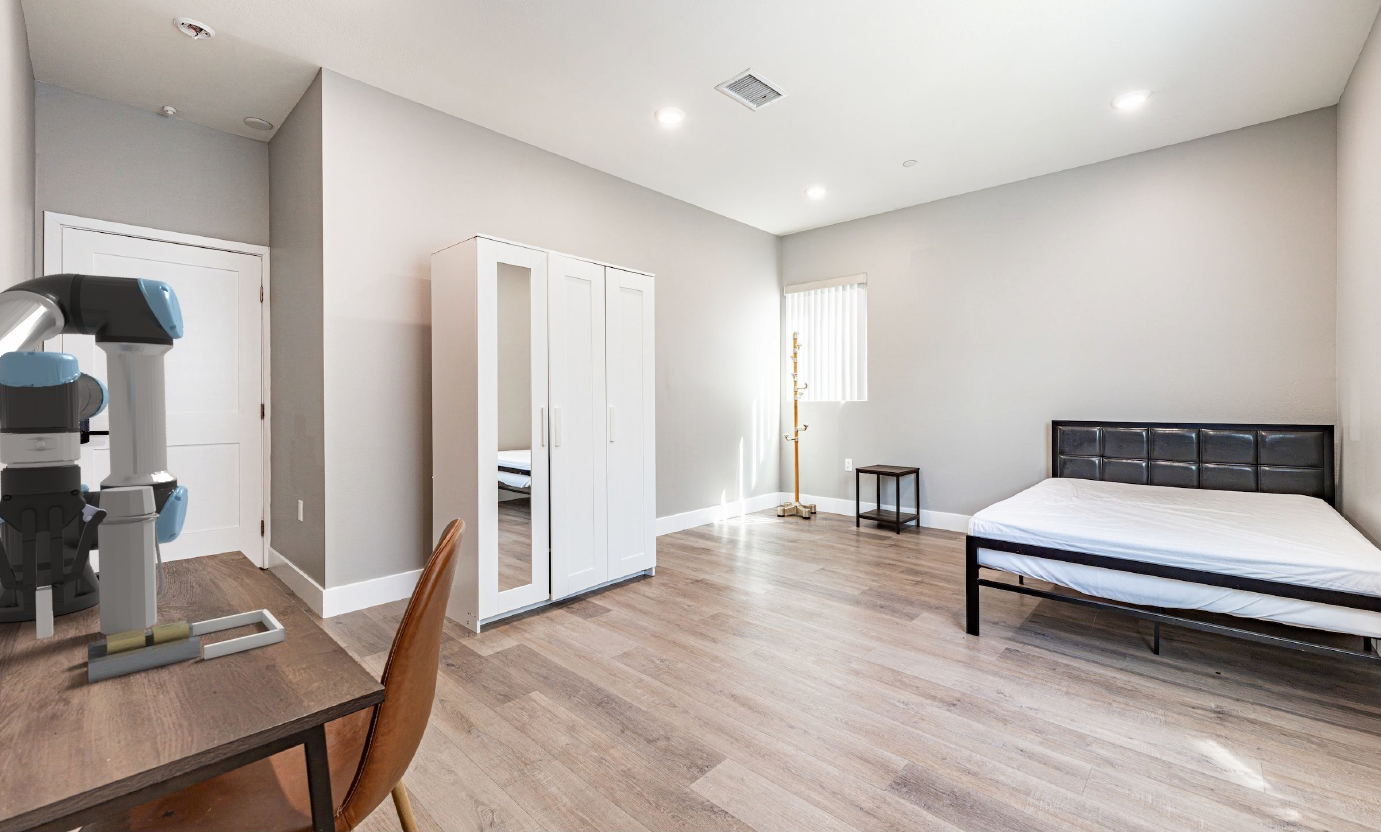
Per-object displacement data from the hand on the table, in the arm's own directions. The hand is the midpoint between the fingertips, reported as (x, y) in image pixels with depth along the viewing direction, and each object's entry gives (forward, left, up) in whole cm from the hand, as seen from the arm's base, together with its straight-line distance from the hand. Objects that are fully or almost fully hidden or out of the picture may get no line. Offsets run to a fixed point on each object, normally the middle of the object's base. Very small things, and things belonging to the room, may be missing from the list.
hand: (45, 635), depth 83 cm
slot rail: (0, +10, -8) cm, 13 cm away
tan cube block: (0, +8, -6) cm, 10 cm away
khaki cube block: (0, +13, -6) cm, 15 cm away
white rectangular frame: (0, +22, -8) cm, 23 cm away
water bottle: (-20, +10, -8) cm, 24 cm away
